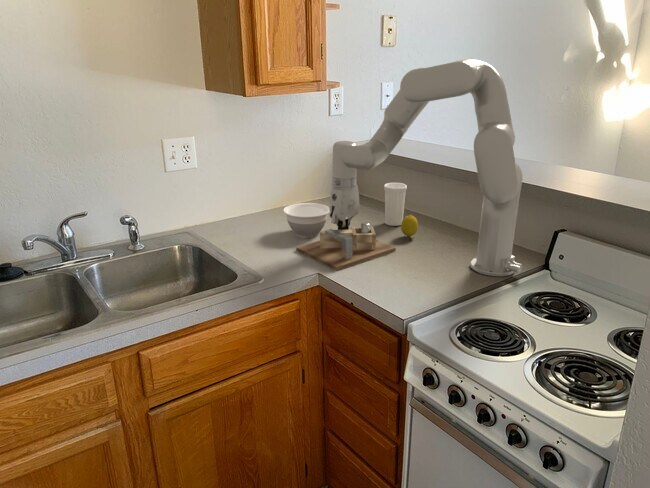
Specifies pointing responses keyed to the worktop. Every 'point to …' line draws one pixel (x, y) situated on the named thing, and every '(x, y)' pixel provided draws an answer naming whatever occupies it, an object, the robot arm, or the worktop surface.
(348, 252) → the bracket
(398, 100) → the robot arm
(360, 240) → the link
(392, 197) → the cup
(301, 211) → the bowl
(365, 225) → the ball
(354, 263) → the board
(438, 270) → the worktop surface
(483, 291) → the worktop surface
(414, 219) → the lemon
